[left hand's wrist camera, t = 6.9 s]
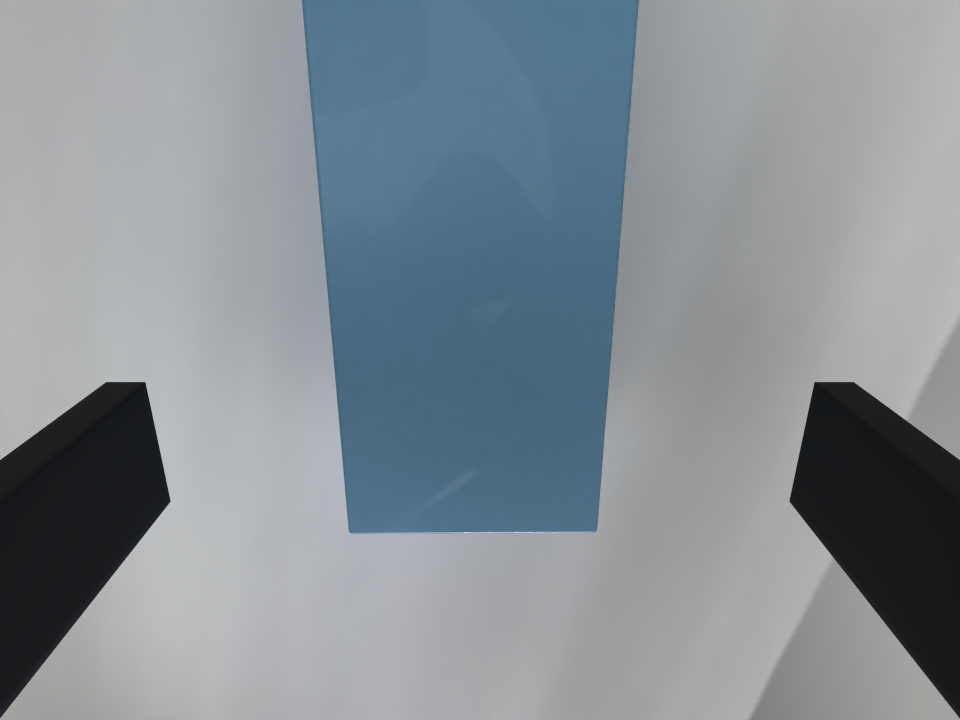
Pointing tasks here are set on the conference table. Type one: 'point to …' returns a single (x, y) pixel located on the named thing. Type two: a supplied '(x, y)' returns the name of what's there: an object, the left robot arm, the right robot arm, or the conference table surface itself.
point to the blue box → (471, 253)
